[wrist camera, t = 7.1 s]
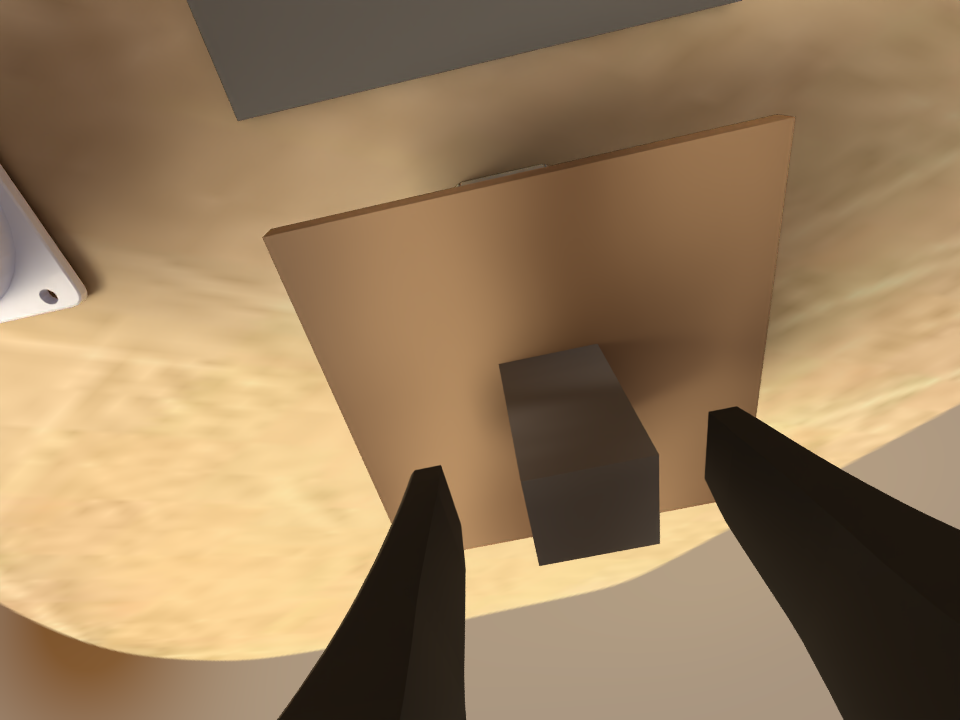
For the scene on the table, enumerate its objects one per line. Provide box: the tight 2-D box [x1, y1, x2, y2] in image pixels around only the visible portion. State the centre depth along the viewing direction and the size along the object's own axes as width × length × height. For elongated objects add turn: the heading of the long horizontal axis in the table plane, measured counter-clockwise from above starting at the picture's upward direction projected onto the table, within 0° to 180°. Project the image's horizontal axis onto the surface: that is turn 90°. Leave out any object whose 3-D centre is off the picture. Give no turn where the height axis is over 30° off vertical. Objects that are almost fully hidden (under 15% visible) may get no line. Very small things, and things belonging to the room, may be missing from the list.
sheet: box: [262, 114, 795, 566], centre depth 11 cm, size 11×11×5 cm
